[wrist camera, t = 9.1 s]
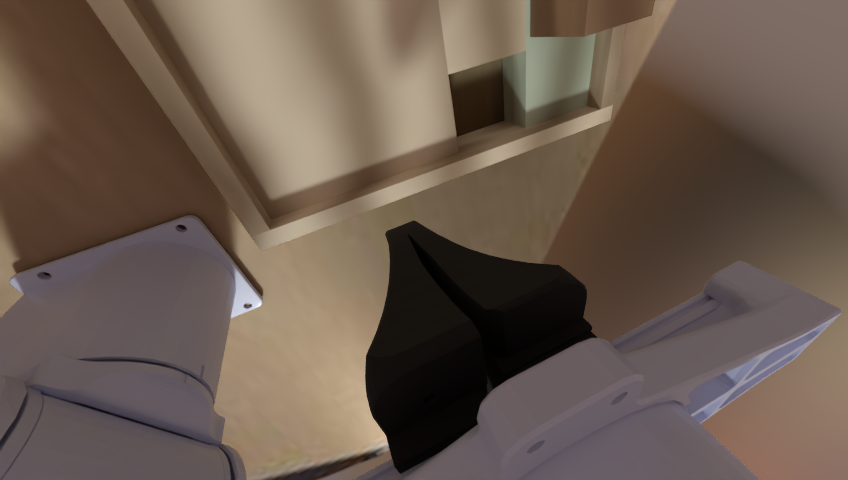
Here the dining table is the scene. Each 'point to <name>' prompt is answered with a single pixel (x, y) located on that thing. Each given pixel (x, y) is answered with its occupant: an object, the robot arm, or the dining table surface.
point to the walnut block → (583, 16)
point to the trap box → (351, 95)
